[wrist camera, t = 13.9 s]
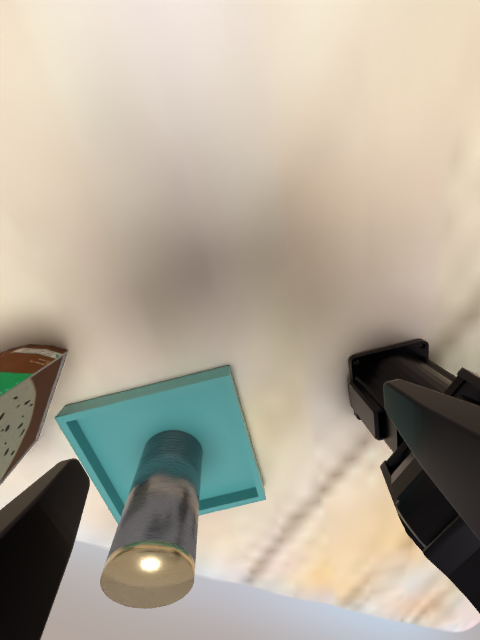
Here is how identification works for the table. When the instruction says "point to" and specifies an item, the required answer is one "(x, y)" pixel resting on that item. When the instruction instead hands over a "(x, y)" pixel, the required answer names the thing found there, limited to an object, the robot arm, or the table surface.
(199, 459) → the grey tin
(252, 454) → the teal tray
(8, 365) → the food container
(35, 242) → the table surface
